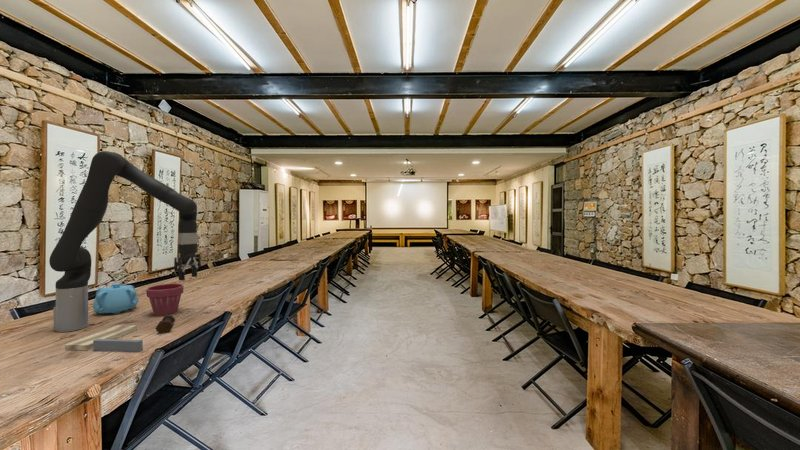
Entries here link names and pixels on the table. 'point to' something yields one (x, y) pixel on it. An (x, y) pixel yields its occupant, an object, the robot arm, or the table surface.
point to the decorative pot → (115, 299)
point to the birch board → (100, 337)
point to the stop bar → (117, 345)
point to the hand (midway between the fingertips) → (188, 278)
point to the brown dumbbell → (165, 324)
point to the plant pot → (165, 298)
